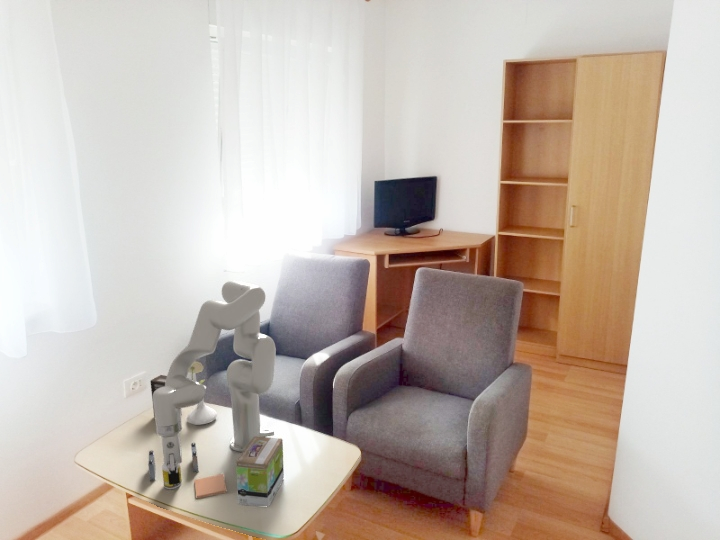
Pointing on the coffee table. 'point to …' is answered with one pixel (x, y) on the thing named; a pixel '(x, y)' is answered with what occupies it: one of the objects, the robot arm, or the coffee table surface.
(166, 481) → the supplement bottle
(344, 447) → the coffee table surface
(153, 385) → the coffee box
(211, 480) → the coaster
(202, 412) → the flower in vase
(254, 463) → the tea box
